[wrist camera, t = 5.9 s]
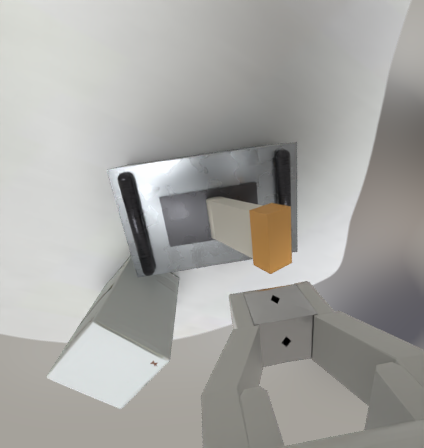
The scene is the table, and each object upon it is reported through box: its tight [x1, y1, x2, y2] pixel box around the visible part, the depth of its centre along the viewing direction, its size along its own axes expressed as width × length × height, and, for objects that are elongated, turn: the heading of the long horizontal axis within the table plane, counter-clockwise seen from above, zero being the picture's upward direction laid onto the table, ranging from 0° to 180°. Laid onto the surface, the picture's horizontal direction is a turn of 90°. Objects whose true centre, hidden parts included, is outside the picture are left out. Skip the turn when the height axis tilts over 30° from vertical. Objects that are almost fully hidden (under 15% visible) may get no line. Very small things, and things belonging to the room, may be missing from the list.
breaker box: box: [107, 142, 297, 278], centre depth 23 cm, size 11×17×7 cm, turn 98°
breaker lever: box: [206, 197, 292, 274], centre depth 17 cm, size 4×2×8 cm, turn 8°
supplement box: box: [46, 256, 179, 409], centre depth 24 cm, size 7×7×13 cm
